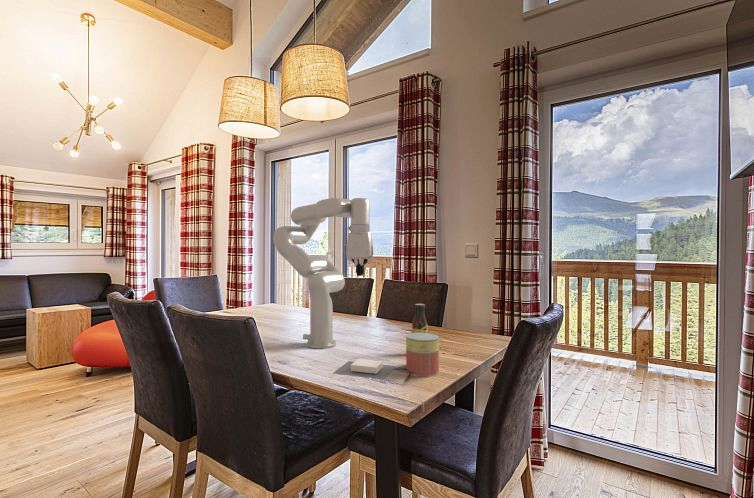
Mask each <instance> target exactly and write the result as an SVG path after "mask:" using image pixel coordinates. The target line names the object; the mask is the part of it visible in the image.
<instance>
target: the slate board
mask: <svg viewBox="0 0 754 498" xmlns="http://www.w3.org/2000/svg"><path fill="white" fill-rule="evenodd" d="M354 362H355V361H354V360H353V361H352V360H351V361H350V360H348V361H347V362H345V363H344V364H342V365H341V366H340V367H339V368H338V369H336V370H335V371H333V372H332V374H333V375H342V376H352V377H359V378H367V379H376V380H384V381H385V380H386V379H387V378H388V376H389V375H390V374H392V372H393V371H394V370H395V369H396V367H397V365H389V364H383V368H382V369H381V370H380V371H379V372H378V373H377V374H372V373H363V372H354V371H351V364H353V363H354Z"/></svg>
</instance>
